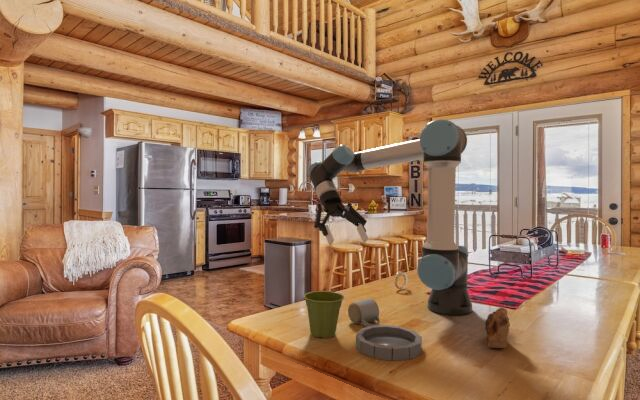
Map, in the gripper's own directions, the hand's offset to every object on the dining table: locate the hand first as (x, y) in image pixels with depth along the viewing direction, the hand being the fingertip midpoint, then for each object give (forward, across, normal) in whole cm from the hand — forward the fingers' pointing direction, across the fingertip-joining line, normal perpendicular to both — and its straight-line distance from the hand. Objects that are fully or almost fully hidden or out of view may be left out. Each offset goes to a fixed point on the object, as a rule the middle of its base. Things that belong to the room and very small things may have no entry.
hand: (349, 241), depth 136 cm
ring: (+5, -37, -31) cm, 49 cm away
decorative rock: (+47, -22, +12) cm, 53 cm away
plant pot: (+27, +16, -8) cm, 33 cm away
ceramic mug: (+25, 0, -10) cm, 27 cm away
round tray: (+38, +5, +4) cm, 39 cm away
